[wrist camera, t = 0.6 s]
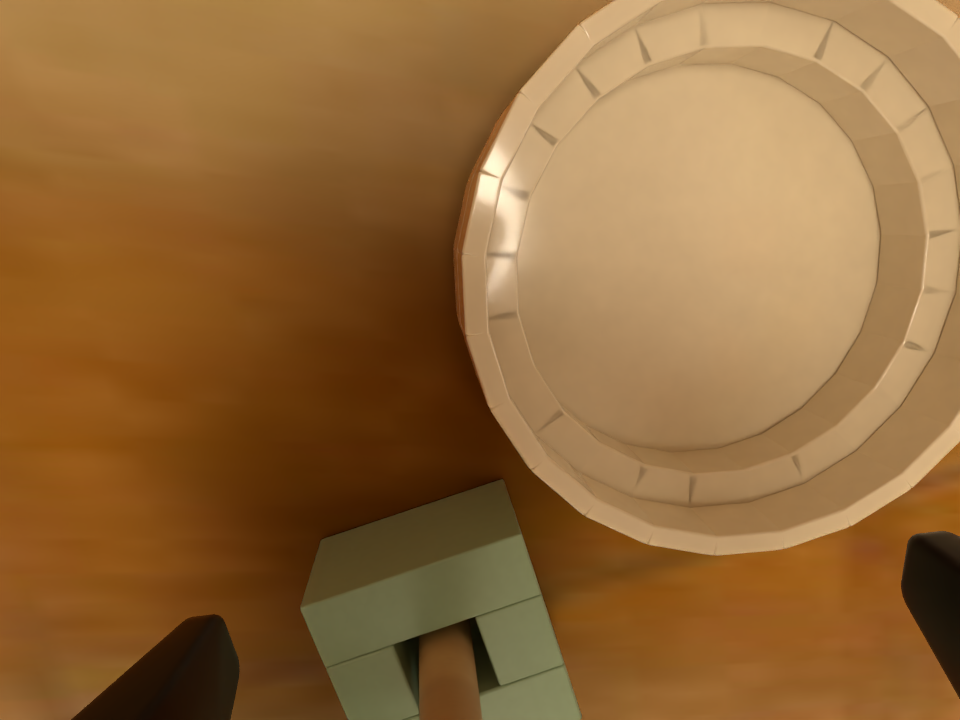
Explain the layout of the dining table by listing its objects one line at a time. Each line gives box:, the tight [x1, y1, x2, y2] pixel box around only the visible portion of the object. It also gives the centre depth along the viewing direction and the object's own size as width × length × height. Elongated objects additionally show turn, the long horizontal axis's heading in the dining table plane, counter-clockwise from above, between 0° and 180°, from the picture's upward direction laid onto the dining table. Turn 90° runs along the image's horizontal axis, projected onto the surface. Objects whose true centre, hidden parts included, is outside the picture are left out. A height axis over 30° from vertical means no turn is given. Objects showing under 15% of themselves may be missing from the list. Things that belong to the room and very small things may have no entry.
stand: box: [300, 479, 582, 720], centre depth 20 cm, size 6×6×4 cm
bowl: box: [453, 0, 960, 555], centre depth 19 cm, size 15×15×4 cm
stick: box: [419, 619, 483, 720], centre depth 17 cm, size 2×2×11 cm
